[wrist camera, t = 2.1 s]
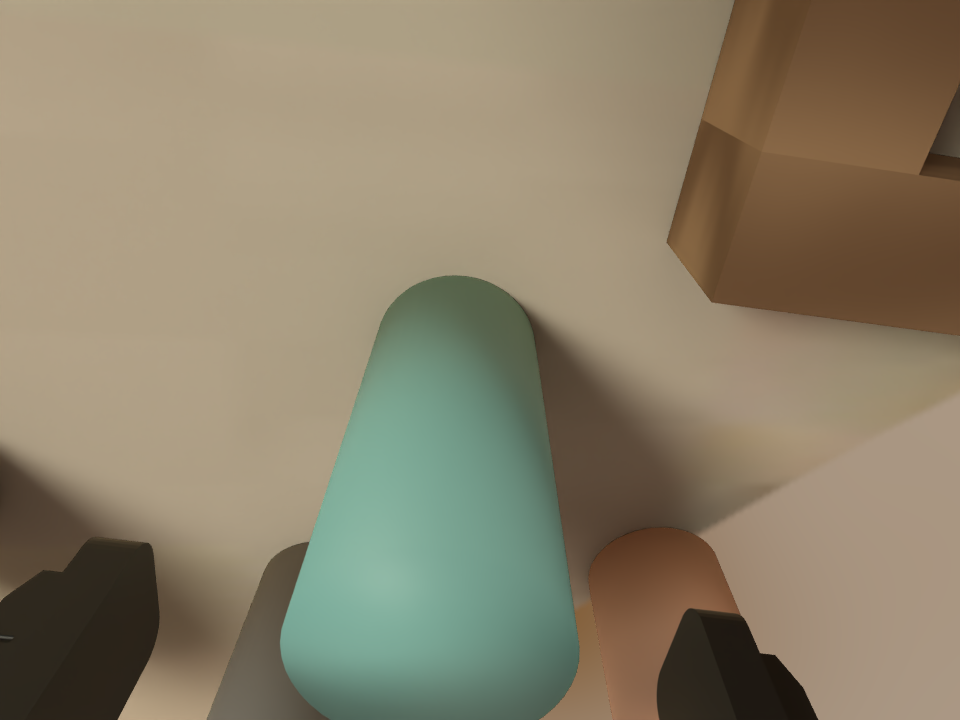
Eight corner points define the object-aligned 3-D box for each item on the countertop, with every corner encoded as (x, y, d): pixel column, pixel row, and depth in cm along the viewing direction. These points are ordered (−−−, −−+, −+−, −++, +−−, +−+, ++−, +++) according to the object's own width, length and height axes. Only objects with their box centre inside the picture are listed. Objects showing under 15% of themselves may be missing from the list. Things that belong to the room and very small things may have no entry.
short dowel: (604, 520, 20) (639, 671, 15) (736, 534, 20) (808, 687, 15) (576, 614, 21) (599, 773, 17) (696, 626, 22) (751, 786, 17)
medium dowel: (382, 265, 16) (278, 529, 8) (548, 287, 16) (609, 566, 8) (371, 406, 18) (280, 735, 10) (520, 424, 18) (549, 759, 10)
